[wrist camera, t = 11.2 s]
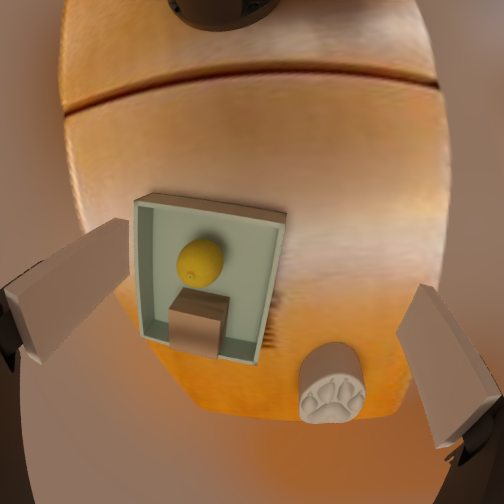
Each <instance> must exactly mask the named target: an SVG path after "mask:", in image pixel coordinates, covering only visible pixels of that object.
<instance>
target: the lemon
mask: <svg viewBox="0 0 504 504" xmlns="http://www.w3.org/2000/svg"><path fill="white" fill-rule="evenodd" d="M223 264H224V258H223V254H222V251H221V249H220V248H219V247H218V245H216V244H215V243H214V242H212V241H210V240H207V239H197V240H194V241H191V242H190V243H188V244H187V245H186V246H185V247H184V248H183V249H182V250H181V252H180V254H179V256H178V258H177V264H176V268H177V273H178V276H179V277H180V279H181V280H182V281H183V282H184V283H185V284H186V285H188V286H190V287H193V288H203V287H206V286H208V285H210V284H212V283H213V282H214V281H215V280H216V279H217V278H218V277H219V276H220V274H221V272H222V269H223Z"/></svg>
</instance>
